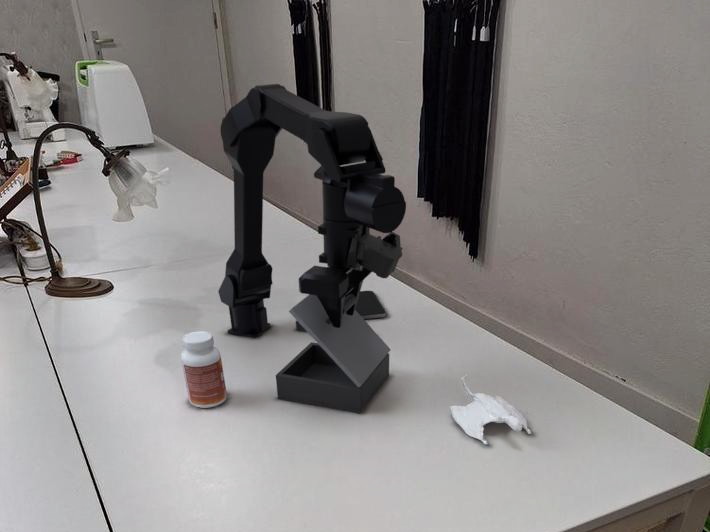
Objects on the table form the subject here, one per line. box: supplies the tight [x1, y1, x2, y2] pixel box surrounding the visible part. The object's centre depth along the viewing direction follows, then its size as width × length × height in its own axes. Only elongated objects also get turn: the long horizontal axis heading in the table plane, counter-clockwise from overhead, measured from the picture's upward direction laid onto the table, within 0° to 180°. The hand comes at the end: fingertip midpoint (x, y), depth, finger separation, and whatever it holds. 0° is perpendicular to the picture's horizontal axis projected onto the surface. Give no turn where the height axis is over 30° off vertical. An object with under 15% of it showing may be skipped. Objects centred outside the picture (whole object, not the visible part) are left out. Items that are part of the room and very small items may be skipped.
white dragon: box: [450, 374, 532, 446], centre depth 99 cm, size 18×10×4 cm, turn 21°
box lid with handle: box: [288, 294, 392, 387], centre depth 102 cm, size 15×14×5 cm
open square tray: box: [275, 341, 390, 414], centre depth 108 cm, size 15×14×4 cm
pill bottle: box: [180, 330, 228, 409], centre depth 104 cm, size 6×6×11 cm
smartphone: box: [355, 290, 387, 320], centre depth 139 cm, size 8×1×15 cm
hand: (343, 321), depth 102 cm, fingers closed on box lid with handle, 5 cm apart
